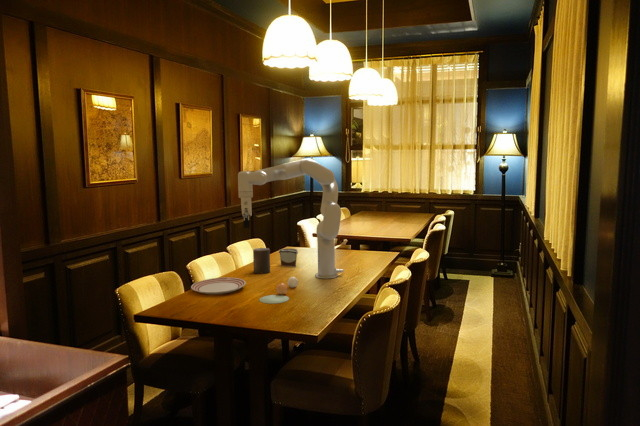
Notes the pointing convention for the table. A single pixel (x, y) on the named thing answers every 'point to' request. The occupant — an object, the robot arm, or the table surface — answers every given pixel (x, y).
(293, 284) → the cue ball
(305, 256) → the table surface
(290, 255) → the food container
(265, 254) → the pillar candle
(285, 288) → the object ball
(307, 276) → the table surface
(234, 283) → the dinner plate
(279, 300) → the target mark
